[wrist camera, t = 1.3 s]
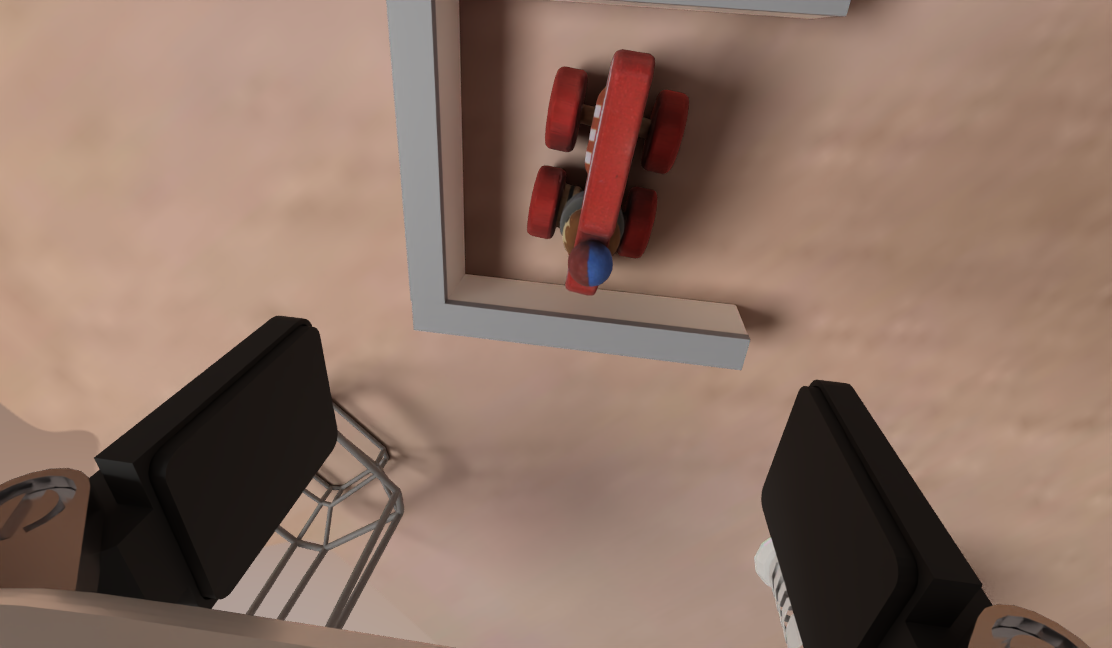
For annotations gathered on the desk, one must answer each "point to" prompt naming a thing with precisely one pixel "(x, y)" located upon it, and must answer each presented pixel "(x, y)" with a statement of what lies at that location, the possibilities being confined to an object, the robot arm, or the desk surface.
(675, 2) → the white u-shaped wall
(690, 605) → the desk surface
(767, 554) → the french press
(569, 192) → the toy fire truck
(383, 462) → the geometric lantern
